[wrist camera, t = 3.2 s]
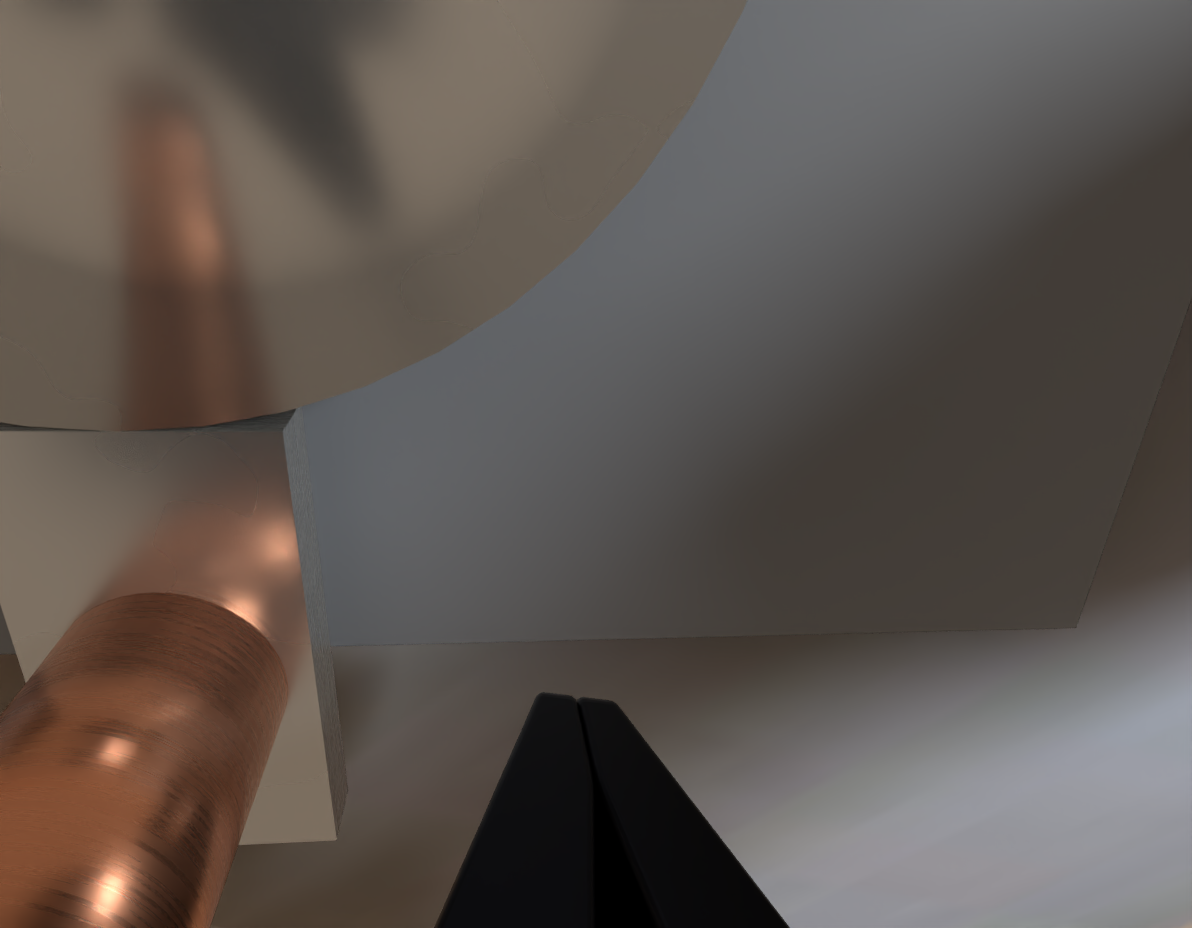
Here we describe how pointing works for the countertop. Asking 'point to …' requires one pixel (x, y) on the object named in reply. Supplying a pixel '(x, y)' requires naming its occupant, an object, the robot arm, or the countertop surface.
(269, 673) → the flange plate
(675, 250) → the slate board
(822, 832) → the countertop surface
